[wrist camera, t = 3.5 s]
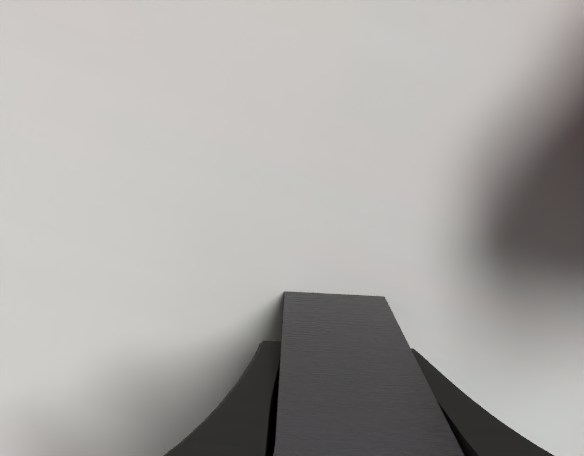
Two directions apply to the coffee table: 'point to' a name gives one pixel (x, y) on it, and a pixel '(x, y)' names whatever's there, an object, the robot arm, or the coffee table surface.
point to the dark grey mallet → (353, 383)
